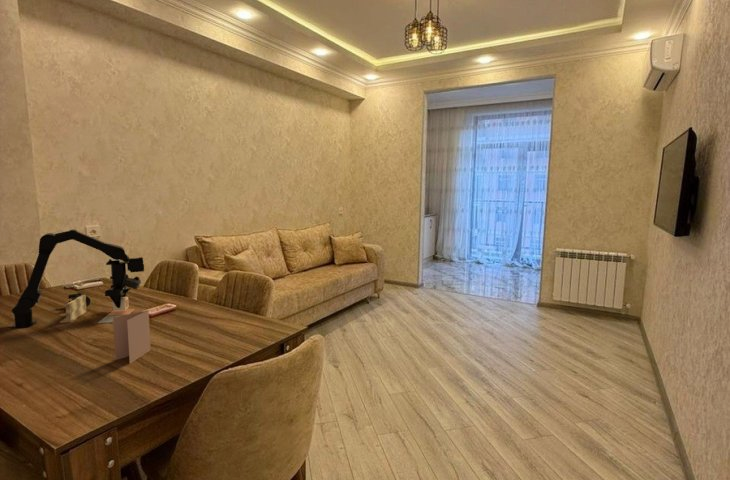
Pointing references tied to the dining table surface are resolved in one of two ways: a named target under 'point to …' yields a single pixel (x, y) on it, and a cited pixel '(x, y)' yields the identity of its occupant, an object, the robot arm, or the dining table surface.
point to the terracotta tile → (121, 312)
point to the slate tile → (107, 319)
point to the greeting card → (131, 335)
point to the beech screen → (75, 309)
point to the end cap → (78, 296)
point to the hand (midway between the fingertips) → (120, 306)
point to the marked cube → (122, 304)
